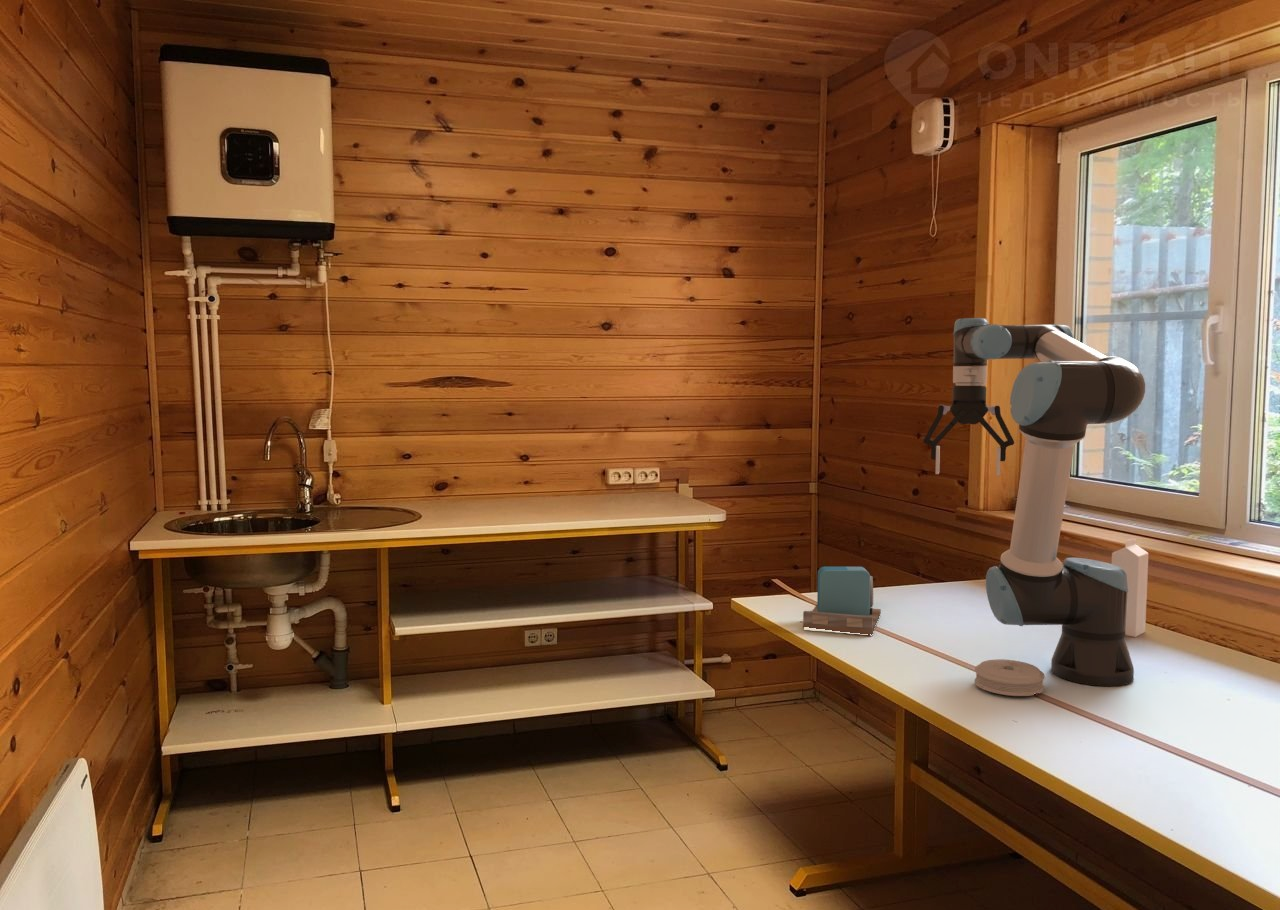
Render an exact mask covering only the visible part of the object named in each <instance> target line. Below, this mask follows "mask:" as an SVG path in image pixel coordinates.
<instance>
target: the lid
mask: <svg viewBox="0 0 1280 910" xmlns="http://www.w3.org/2000/svg"><path fill="white" fill-rule="evenodd" d="M974 671H975V674H976V675H975V679H974V684H975V685H976V686H977V687H978V688H980V689H982V690H983V691H987V692H990V693H994V694H998V695H1002V696H1003V695H1004V696H1013V697H1028V696H1035V695H1034V693H1039V694H1042V693H1043V692H1044V691H1045V686H1044V680H1045V678H1046V677H1045V675H1046V674H1045V673H1044V672H1043V671H1041V670H1040V668H1038V667H1037V666H1036V665H1034V664H1031V663H1028V662H1024V661H1020V660H1014V659H1001V658H1000V659H999V658H998V659H988V660H985V661H981V662H980V663H979V664H977V665H976V666H975V667H974Z"/></svg>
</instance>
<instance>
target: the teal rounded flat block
mask: <svg viewBox="0 0 1280 910" xmlns="http://www.w3.org/2000/svg"><path fill="white" fill-rule="evenodd" d="M870 576H871V574H870V572H869V571H868V570H867V569H866V568H865V567H864V566H822V567H820V568H819V569H818V571H817V594H816V595H817V598H816V599H817V603H816V605H817V609H818V612H826V613H838V614H851V615H864V616H869V612H870V608H871V606H870Z"/></svg>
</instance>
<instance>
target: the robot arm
mask: <svg viewBox="0 0 1280 910" xmlns="http://www.w3.org/2000/svg"><path fill="white" fill-rule="evenodd" d="M952 336H953V363H952V364H953V365H952V368H953V369H952V383H953V384H954V385H953V387H952V403H951V405H949V406H948V405H944V404H939V406H938V410H937V415H936V417H934V418H935V419H934V420H933V422H932V424H931V426H930V427H929V429H928V431H927V434H925V437H923V441H922V442H923V443H924V444H926V445H929V446H930V458H931V460H932V461H933V460H934V461H935V475H939V474H940V462H941V461H940V459H941V456H940V455H941V454H940V453H941V452H940V451H941V450H940V449H941V446H940V445H938V444H939V443H940V442H941V441H942V440H943V438H945V436H946V435H948V433H949V432H950V431H951V430H952V429H953V428H954V426H956V424H957V423H959V424H961V425H967V424H971V425H978V424H981V425H982V427H983V428H984V429H985V430H986V431H987V432H988V434H990V436H991V437H992V439H994V440H995V442H996V443H997V444H998V445H999V446H996V470H995V471H996V472H995V475H996V477H1000V476H1001V462H1006V459H1007V457H1006V455H1007V452H1006V451H1007V448H1008V447H1010V446H1013V445H1015V441H1014V437H1013V436H1012V434H1011V432H1010V430H1009V429H1008V427H1007V425H1006V423H1005V420H1004V419H1003V417H1002V415H1001V407H1000V405H999V404H996V405H993V406H992V405H991V406H987V386H986V385H985V384H986V383H987V382H988V379H987V378H988V377H987V376H988V361H989V360H1006V359H1007V360H1011V359H1014V360H1016V359H1017V360H1020V359H1023V360H1024V359H1025V360H1026V359H1027V360H1028V359H1031V360H1033V359H1034V360H1038V361H1040V362H1038V361H1036V362H1031V363H1028V364H1027V365H1025V366H1024V367H1023V368H1022V369H1021V370H1020V371H1018V374H1017V375H1016V377H1015V379H1014V382H1013V384H1012V388H1011V392H1010V398H1009V399H1010V400H1009V401H1010V402H1009V404H1010V405H1011V406H1010V415H1011V418H1012V420H1013V422H1015V424H1018V431H1019V432H1020V433H1021V434H1022V435H1023V437H1024V438H1025V443H1024V449H1023V456H1022V461H1021V462H1022V463H1021V468H1020V469H1021V470H1020V475H1019V485H1018V491H1017V498H1016V505H1015V512H1014V519H1013V526H1012V532H1011V539H1010V546H1009V549H1007V550H1005V551H1004V552H1002V553H1001V555H1000V560H999V565H998V566H996V565H993V566H992V567H989V569H987V571H986V574H985V590H986V595H987V600H988V604H989V607H990V610H991V612H992V614H993V616H994V617H995V619H996V620H997V621H998V622H999V623H1001V624H1003V625H1008V626H1009V625H1010V626H1020V627H1023V626H1055V625H1056V626H1058V625H1061V634H1060V637H1059V640H1058V642H1057V645H1056V647H1055V648H1054V649H1055V650H1054V652H1053V654H1052V656H1051V663H1050V664H1051V666H1050V669H1051V673H1052V674H1054V675H1056V676H1057V677H1059V678H1061V679H1064V680H1067V681H1069V682H1074V683H1079V684H1083V685H1090V686H1091V685H1092V686H1100V687H1101V686H1102V687H1117V686H1125V685H1128V684H1131V683H1132V682H1133V681H1134V679H1135V678H1134V675H1135V670H1134V665H1133V662H1132V658H1131V655H1130V652H1129V648H1128V645H1127V642H1126V635H1125V631H1126V611H1127V592H1128V584H1127V574H1126V572H1125V571H1124V570H1123V569H1122V568H1120V567H1118V566H1116V565H1113V564H1112V563H1109V562H1105V561H1101V560H1095V559H1089V558H1083V557H1082V558H1081V557H1074V556H1073V557H1066V558H1064V560H1063V562H1062V561H1061V560H1060V559H1059V558H1058V557H1057V554H1058V549H1059V548H1058V547H1059V543H1060V535H1061V530H1062V524H1063V519H1064V518H1063V517H1064V512H1065V505H1066V500H1067V493H1068V487H1069V481H1070V474H1071V469H1072V462H1073V456H1074V451H1075V445H1076V444H1077V443H1079V442H1080V441H1082V440H1083V439H1084V438H1086V432H1087V426H1088V425H1101V424H1102V425H1104V424H1111V423H1116V422H1119V421H1122V420H1124V419H1126V418H1127V417H1129V416H1131V415H1132V414H1133V413H1134V412H1136V411H1137V409H1139V406H1140V405H1141V404H1142V401H1143V400H1144V397H1145V394H1146V382H1145V378H1144V375H1143V373H1142V372H1141V371H1140V370H1139V369H1138V367H1137V366H1136V365H1135V364H1133V363H1131V362H1129V361H1127V360H1125V358H1122V357H1119V356H1106V355H1105V354H1102V353H1101V352H1099V351H1097V350H1096V349H1094V348H1092V347H1089V346H1088V345H1086V344H1084V343H1082V342H1080V341H1078V340H1077V339H1075V337H1074V336H1075V335H1074V332H1073V331H1072V329H1071V327H1070V326H1069V325H1065V324H1057V323H1051V324H1015V325H1014V324H997V323H996V324H993V323H992V324H991V323H990V324H989V322H988V320H987V318H984V317H983V318H982V317H970V318H969V317H967V318H958V319H956V320H955V322H954V327H953V332H952ZM949 411H950V413H951V414H952V416H953V418H952V419H951V420H950V422H949V423H948V424H947V425H946V426H945V427H944V428H943V429H942V430H941V431H940V432H939V433H938V434H937V436H936V437H935V438H934V439H931V438H932V437H933V435H934V433H935V431H936V429H937V427H938V426H939V424H940V422H941V420H942V418H943V416H944V415H947V413H949ZM988 412H990V413H991V415H992V416H995V419H996V421H997V422H998V425H999V427H1000V429H1001V431H1002V433H1003V434H1004V437H1005V439H1006V440H1005V441H1004V440H1003V438H1002V437H1001V436H1000V435H999V434H998V433H997V432H996V431H995V429H994V428H993V427H992V426H991V424H989V422H988V421H987V420H986V419H985V418H984V417H985V416H986V415H987V413H988Z"/></svg>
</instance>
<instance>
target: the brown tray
mask: <svg viewBox="0 0 1280 910" xmlns="http://www.w3.org/2000/svg"><path fill="white" fill-rule="evenodd" d="M881 611H882V609H881V608H873V607H870V612H869V616H864V615H851V614H838V613H826V612H818V609H817V604H816V605H815V607H814V608H813V609H812V611H810V610H804V611H803V612H802V613H803V614H802V616H803V619H802V621H803V622H802V625H803V627H809V628H816V629H825V630H832V631H840V632H850V633H860V634H868V635H870V634H871V635H872V634H873V635H874V633H873V631H874V632H875V630H874V628H875V625H876V623H877V621H878V622H879V620H880V618H879V616H880V614H881ZM880 617H881V616H880ZM878 619H879V620H878ZM877 624H878V623H877ZM876 626H877V625H876ZM803 627H802V628H803ZM875 629H876V628H875ZM873 635H872V636H873Z"/></svg>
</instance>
